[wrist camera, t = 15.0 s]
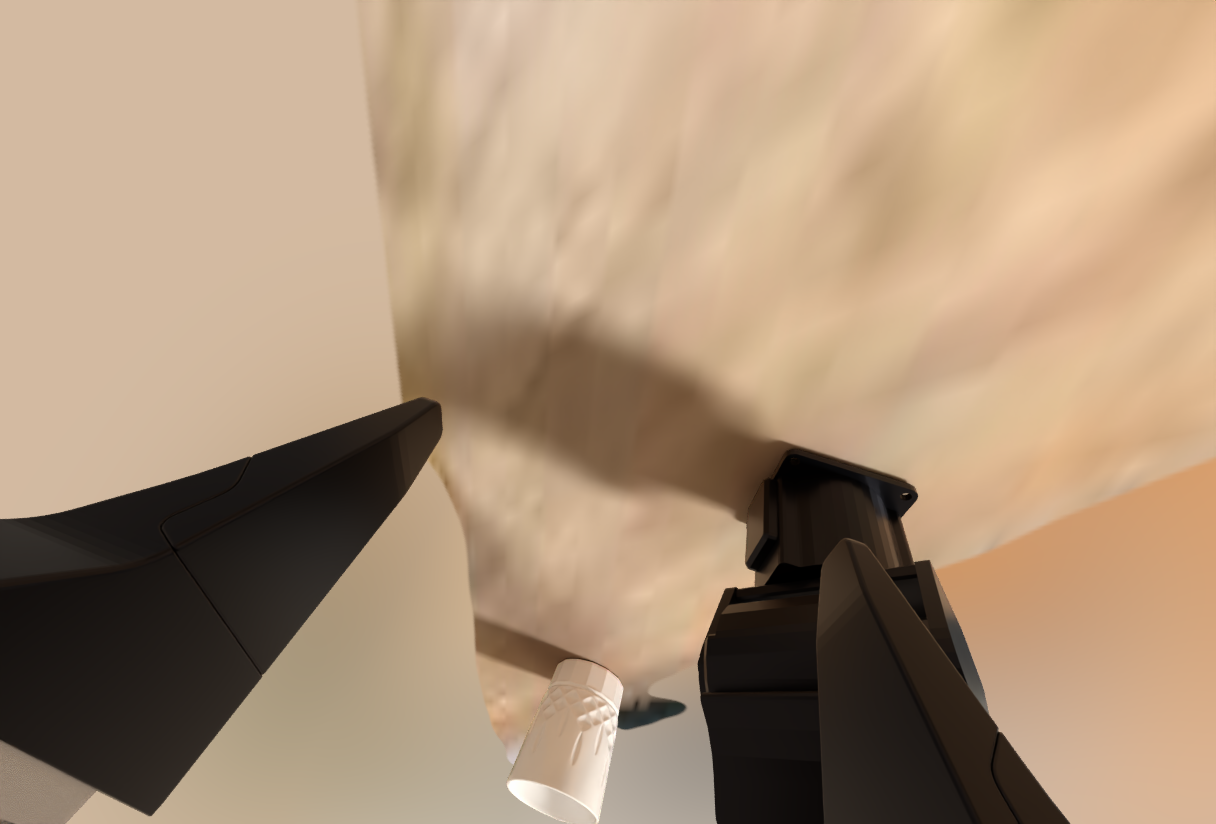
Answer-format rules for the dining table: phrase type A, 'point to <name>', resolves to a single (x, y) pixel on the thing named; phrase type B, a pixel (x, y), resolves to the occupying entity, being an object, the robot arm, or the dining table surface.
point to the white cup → (570, 744)
